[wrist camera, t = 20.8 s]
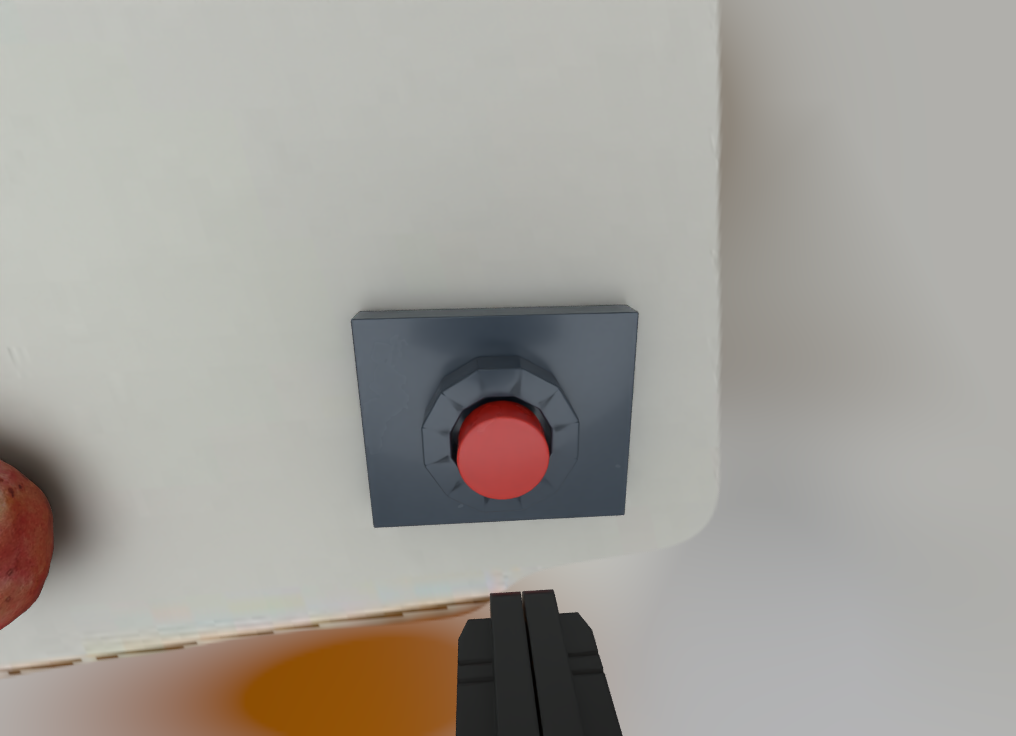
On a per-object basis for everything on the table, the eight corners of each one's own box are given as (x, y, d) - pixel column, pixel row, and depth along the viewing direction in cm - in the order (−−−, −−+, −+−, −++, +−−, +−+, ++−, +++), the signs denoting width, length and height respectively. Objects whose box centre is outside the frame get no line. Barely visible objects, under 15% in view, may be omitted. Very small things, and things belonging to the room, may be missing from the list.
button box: (627, 304, 23) (654, 321, 19) (615, 496, 26) (636, 539, 22) (359, 310, 22) (339, 329, 19) (379, 507, 25) (365, 553, 22)
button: (544, 398, 20) (550, 415, 19) (543, 475, 22) (549, 498, 20) (456, 401, 20) (454, 418, 19) (459, 479, 21) (458, 502, 20)
